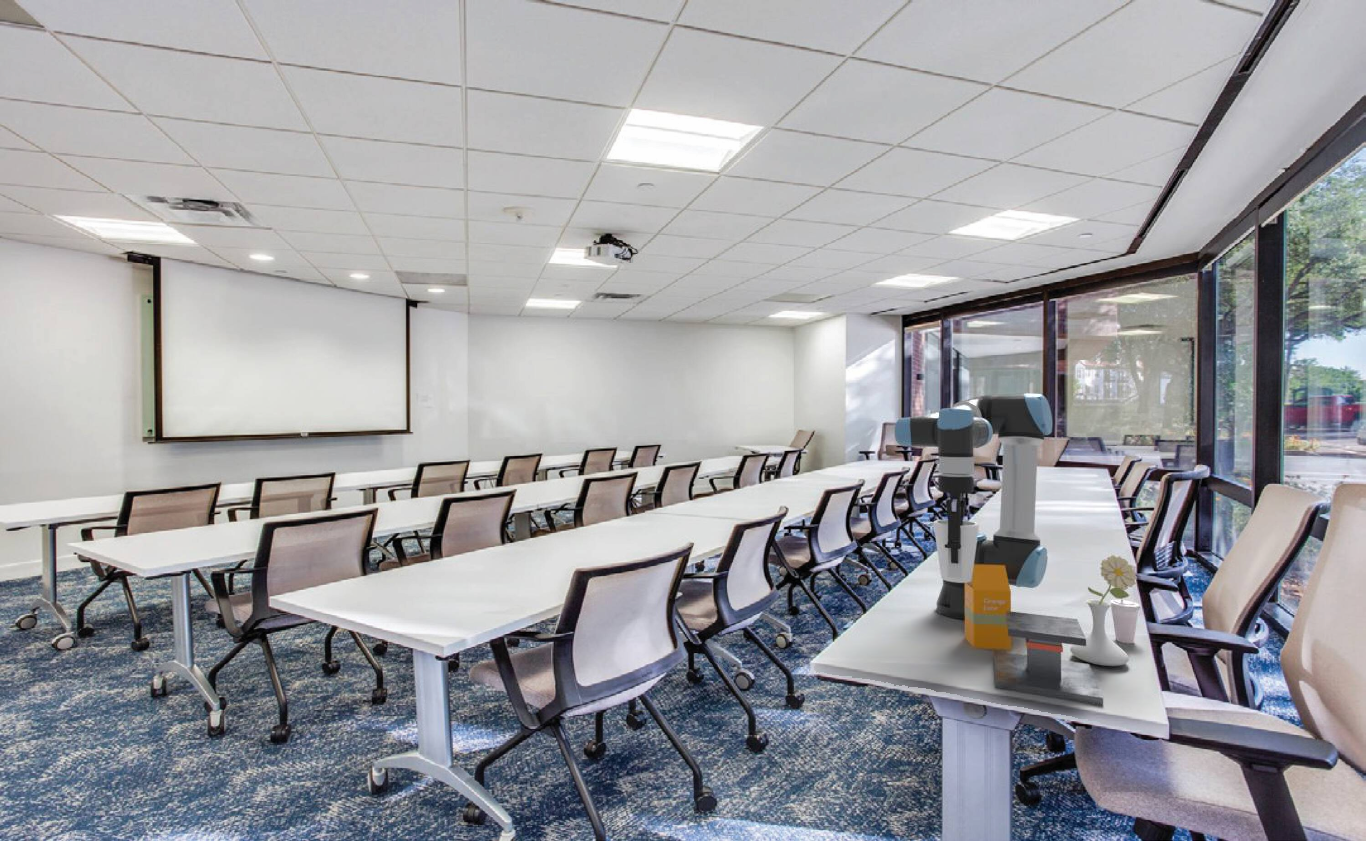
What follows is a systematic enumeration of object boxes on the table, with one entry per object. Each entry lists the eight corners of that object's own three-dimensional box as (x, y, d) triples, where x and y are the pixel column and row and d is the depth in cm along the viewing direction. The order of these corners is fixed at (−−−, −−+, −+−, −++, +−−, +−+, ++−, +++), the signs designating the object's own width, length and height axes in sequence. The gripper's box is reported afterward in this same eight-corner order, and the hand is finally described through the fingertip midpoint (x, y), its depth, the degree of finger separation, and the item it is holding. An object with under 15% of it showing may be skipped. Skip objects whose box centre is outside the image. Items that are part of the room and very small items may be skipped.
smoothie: (1112, 634, 162) (1112, 581, 162) (1142, 640, 158) (1142, 585, 158) (1107, 640, 158) (1106, 585, 158) (1137, 647, 153) (1137, 590, 153)
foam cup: (967, 573, 147) (966, 519, 147) (986, 584, 138) (986, 525, 138) (927, 574, 147) (927, 519, 147) (944, 584, 138) (944, 526, 138)
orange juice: (1011, 649, 152) (1011, 568, 152) (973, 647, 153) (973, 567, 153) (1000, 638, 160) (1000, 561, 160) (964, 637, 161) (963, 560, 161)
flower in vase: (1076, 666, 141) (1076, 557, 141) (1065, 649, 152) (1064, 548, 152) (1145, 674, 137) (1144, 561, 137) (1128, 656, 147) (1127, 551, 147)
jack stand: (994, 656, 147) (994, 606, 147) (1089, 670, 139) (1088, 617, 139) (995, 687, 130) (995, 630, 130) (1103, 705, 122) (1102, 644, 122)
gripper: (942, 471, 154) (942, 561, 154) (933, 478, 134) (934, 581, 134) (975, 471, 150) (976, 564, 150) (971, 479, 131) (972, 585, 131)
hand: (956, 572), depth 142 cm, fingers closed on foam cup, 9 cm apart
